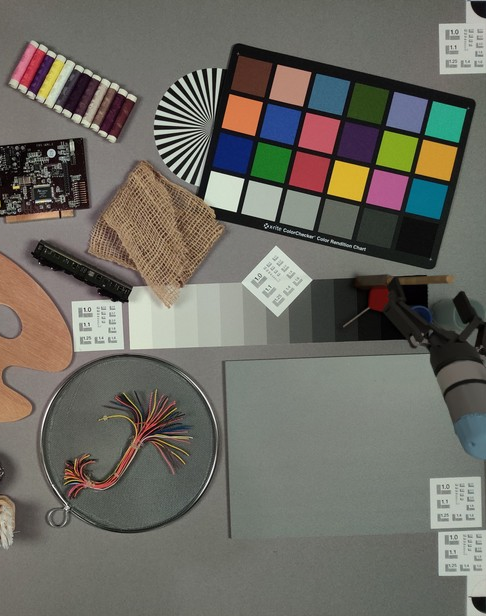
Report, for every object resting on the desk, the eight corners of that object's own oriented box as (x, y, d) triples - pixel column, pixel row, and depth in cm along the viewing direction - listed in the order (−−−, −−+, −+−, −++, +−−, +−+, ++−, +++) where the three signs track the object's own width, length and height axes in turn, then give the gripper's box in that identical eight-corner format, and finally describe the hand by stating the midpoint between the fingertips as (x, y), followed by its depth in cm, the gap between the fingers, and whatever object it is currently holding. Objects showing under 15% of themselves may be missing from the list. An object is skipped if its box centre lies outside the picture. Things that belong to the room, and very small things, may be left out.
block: (366, 279, 144) (398, 278, 130) (362, 289, 144) (394, 289, 130) (356, 276, 144) (387, 274, 130) (352, 286, 144) (383, 285, 130)
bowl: (423, 310, 144) (436, 311, 139) (414, 335, 144) (426, 336, 139) (399, 301, 144) (411, 301, 139) (390, 326, 144) (402, 327, 139)
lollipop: (351, 339, 144) (401, 303, 144) (353, 340, 143) (403, 303, 143) (332, 313, 143) (382, 277, 143) (334, 313, 143) (384, 276, 143)
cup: (424, 327, 144) (450, 329, 134) (428, 295, 144) (455, 295, 134) (455, 331, 144) (483, 334, 134) (459, 300, 144) (489, 300, 134)
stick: (396, 278, 130) (457, 275, 110) (393, 287, 130) (453, 286, 110) (388, 275, 130) (447, 272, 110) (385, 284, 130) (443, 282, 110)
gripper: (378, 370, 104) (355, 289, 119) (513, 399, 105) (473, 314, 119) (402, 344, 99) (374, 261, 113) (544, 374, 99) (498, 288, 114)
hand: (425, 288), depth 117 cm, fingers open, 13 cm apart
